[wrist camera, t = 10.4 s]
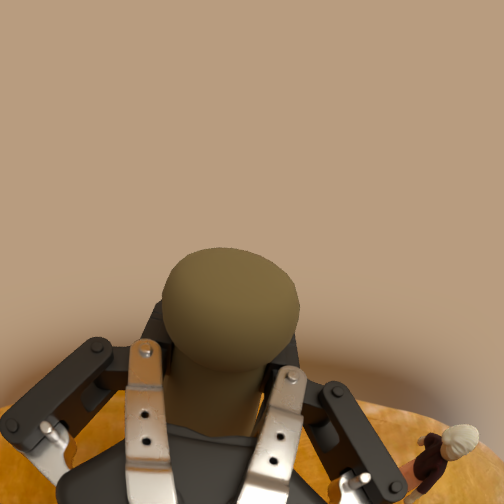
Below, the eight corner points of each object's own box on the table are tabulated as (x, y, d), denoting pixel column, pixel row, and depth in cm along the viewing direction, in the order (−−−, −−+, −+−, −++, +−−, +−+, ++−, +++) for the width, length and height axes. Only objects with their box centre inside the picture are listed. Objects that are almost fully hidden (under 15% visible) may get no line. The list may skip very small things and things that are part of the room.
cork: (246, 381, 18) (294, 240, 13) (261, 457, 12) (350, 329, 8) (159, 375, 16) (163, 222, 11) (155, 456, 11) (134, 315, 6)
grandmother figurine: (396, 517, 13) (493, 468, 7) (365, 518, 14) (463, 472, 8) (400, 461, 20) (478, 396, 14) (373, 458, 20) (451, 392, 15)
